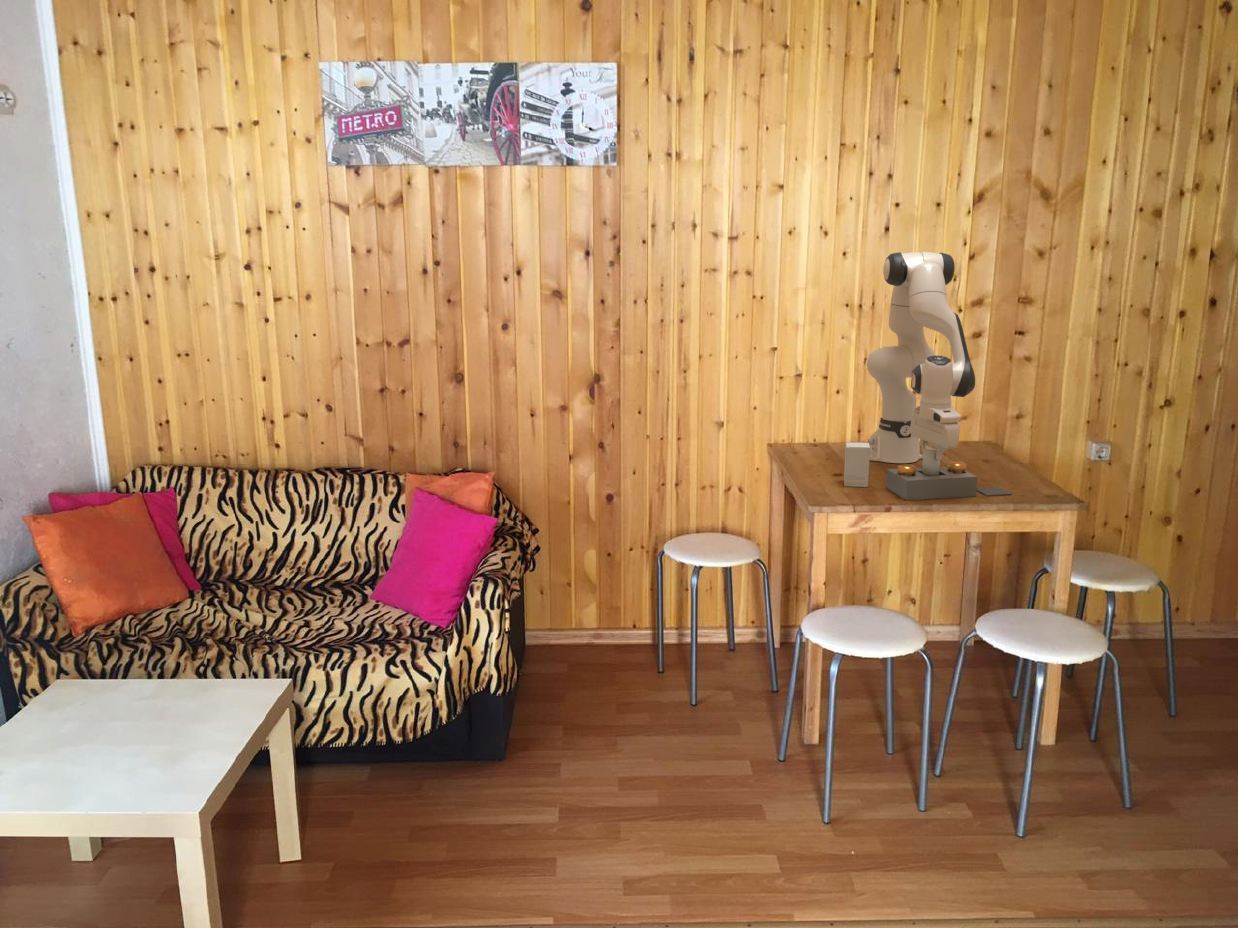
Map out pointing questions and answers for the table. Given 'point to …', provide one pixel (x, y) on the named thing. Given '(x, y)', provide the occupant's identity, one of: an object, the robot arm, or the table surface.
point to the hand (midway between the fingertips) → (931, 456)
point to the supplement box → (856, 464)
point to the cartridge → (930, 461)
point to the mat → (993, 491)
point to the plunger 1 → (906, 469)
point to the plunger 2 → (956, 467)
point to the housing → (932, 484)
